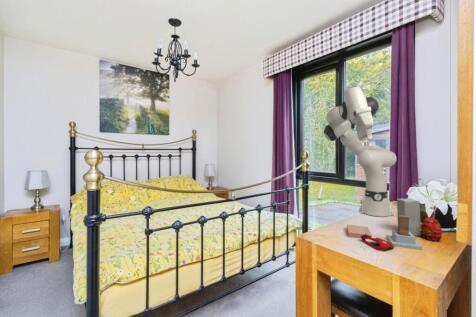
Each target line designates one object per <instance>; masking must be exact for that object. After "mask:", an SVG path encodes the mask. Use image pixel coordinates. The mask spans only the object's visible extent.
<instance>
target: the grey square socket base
mask: <svg viewBox="0 0 476 317" xmlns="http://www.w3.org/2000/svg"><path fill="white" fill-rule="evenodd" d="M386 239H387V241H389V242H390V243H391V244H392V245H394V248H404V249H405V248H406V249H411V250H419V251H420V250H421V251H423V246H422V245H421V244H420V243H419V242H418V241H417V240H416V236H413V235H412V234H411V233H410V232H409V235H408V236H404V235H399V234H398V230H393V229H392V232H391V235H388V234H387V235H386Z"/></svg>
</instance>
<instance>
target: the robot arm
mask: <svg viewBox="0 0 476 317" xmlns="http://www.w3.org/2000/svg"><path fill="white" fill-rule="evenodd" d="M343 97H344V98H343V101H342V103H341V104H340V105H339V106H335V107H333V108H330V109H329V110H328V111H327V112H326V115H325V119H326V122H327V123H328V124H327V125H325V126H324V129H323V135H324V137H325V138H326V139H327V140H328V141H330V142H334V141H336V140H338V139H340V142H341V143H342V145H343V146H344V147H345V148H347V149H348V150H349V151H351V152H352V153H353V154H354V155H355V156H356V157H357V162H358V164H359V165H360V166H361V167H362V169H363V171H364V176H365V190H364V197H363V198H362V200H361V199H360V205H361V206H359V209H358V213H360V214H364V213H365V215H368V216H372V217H373V216H374V217H389V216H394V213H393V212H391V201H390V199H388V196H389V194H388V190H387V189H388V178H387V176H385V174H384V173H383V170H382V169H385V168H389V167H392V166H394V165H395V164H396V162H397V156H396V155H397V154H396V153H395V152H394V151H391V150H387V149H385V147H381V146H379V145H376V144H374V143H372V142H371V141H370V140H373V133H372V132H373V131H372V128H373V126H374V120H373V116H375V115H376V114H377V112H378V111H379V107H380V105H379V102H378V100H377V99H375V97H373V96H368V97H366V96H365V93H364V92H363V90H362V88H361V87H360V86H359V85H355V86H350V87H348V88H345V90H343ZM353 130H355V131H356V133H355V132H354V131H353Z"/></svg>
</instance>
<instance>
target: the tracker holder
mask: <svg viewBox="0 0 476 317" xmlns="http://www.w3.org/2000/svg"><path fill="white" fill-rule="evenodd" d="M372 236H373V235H372ZM372 236H371V235H369V234H363V235H360V237H361V238H360V240H362V242H363V243H364V244H366V245H368V246H369V247H371V248H373V249H375V250H379V251H382V252H383V251H385V250H387V249H389V248H392V249H394V248H395V246H394V245H392V244H391V243H390V242H389V241H388V239H387V240H386V239H384V238H381V237H372ZM371 237H372V238H371ZM365 238H366V239H365ZM367 240H370V241H372V242H374V243H377V244H379V245H378V246H376V245H373V244H371V243H369V242H368V241H367Z"/></svg>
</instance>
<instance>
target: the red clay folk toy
mask: <svg viewBox="0 0 476 317" xmlns="http://www.w3.org/2000/svg"><path fill="white" fill-rule="evenodd" d="M436 206H437V204H435V205H434V206H430V207H429V209H433V212H432V213H433V215H432V217H431V218H429V217H425V218H424V221H423V222H422V223H421V236H420V237H422V238H424V239H427V240H428V241H430V242H431V241H432V242H437V241H441V240H442V236H443V231H442V227H441V223H439V221H438V220H437V219H436V218H435V215H436Z"/></svg>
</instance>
